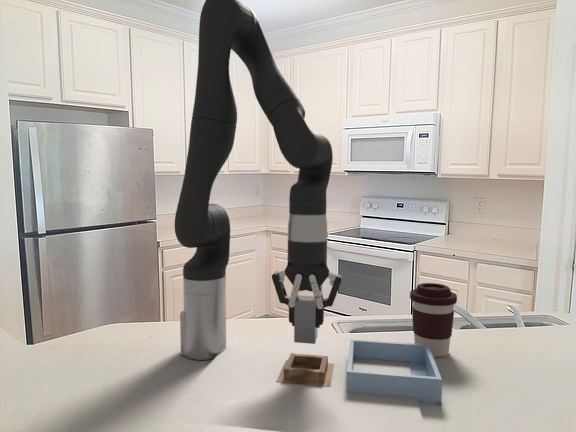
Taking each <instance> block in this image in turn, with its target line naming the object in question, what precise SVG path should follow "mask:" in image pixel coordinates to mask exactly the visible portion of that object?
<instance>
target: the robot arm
mask: <svg viewBox="0 0 576 432" xmlns="http://www.w3.org/2000/svg"><path fill="white" fill-rule="evenodd" d="M201 8H202V9H201V12H200V16H199V25H198V26H199V28H198V53H197V55H198V57H197V58H198V59H197V63H198V64H197V71H196V72H197V74H196V83H195V84H196V85H195V94H194V103H193V108H192V115H191V120H190V121H191V123H190V132H189V142H188V150H187V157H186V162H185V163H186V164H185V170H184V176H183V181H182V185H181V189H180V194H179V199H178V202H177V207H176V211H175V215H174V216H175V217H174V234H175V236H176V239H177V241H178V243H179V244H180V245H181V246H182V247H184V248H186V249H187V248H189V249H193V248H196V251H195V253H194V254H193V256H192V257H191V258H190V259H189V260H187V261H186V262H185V263H184V265H183V266H182V267H183V268H182V278H183V279H182V280H183V282H182V284H183V310H182V311H181V312H180V314H179V323H180V325H179V327H180V329H179V331H180V333H179V334H180V356H185V357H186V358H188V359H192V360H197V361H198V360H199V361H200V360H201V361H204V360H205V361H207V360H213V359H216V357H217V356H218V355H219V354H221V353H222V352H224V351H225V350H226V349H227V293H226V292H227V288H226V287H227V285H226V284H227V282H226V274H227V272H226V271H227V267H228V264H229V261H230V249H231V248H230V247H231V246H230V245H231V222H230V218H229V217H230V216H229V215H228V212H227V211H226V209H225V208H224V206H222V205H220V204H217V203H210V197H211V193H212V189H213V185H214V182H215V180H216V178H217V177H218V175H219V173H220V172H221V170H222V168H223V166H225V163H226V162H227V160H228V159H229V156H230V155H231V152H232V150H233V147H234V143H235V140H236V139H235V137H236V131H237V124H238V109H237V108H238V107H237V104H236V99H235V95H234V91H233V86H232V81H231V78H230V58H231V52H232V51H233V52H234V53H235V54H236V55H237V56H238V58H239V59H240V60H241V61H242V62H243V64H244V65H245V67H246V68H247V70H248V73H249V75H250V78H251V82H252V87H253V92H254V93H253V94H254V95H255V98H256V101H257V103H258V105H259V106H260V108H261V110H262V112H263V113H264V114H265V116H266V119H267V120H268V121H269V123H270V125H271V126H272V129H273V133H274V136H275V138H276V142H277V145H278V148H279V151H280V152H281V154H282V156H283V157H284V159H285V160H286V162H288V164H289V165H291V167H294V168H296V169H298V170H299V171H298V177H297V181H296V182H295V183H294V184H292V185H291V186H290V188H289V189H290V190H289V196H288V197H289V200H288V202H289V203H288V204H289V206H288V209H289V210H288V211H289V215H288V221H287V265H286V267H285V269H284V270H282V271H278V270H277V271H274V273H273V274H272V275H271V279H272V282H273V286H274V289H275V291H276V296H277V298H278V301H279V303H280V304H284V305H286V306H287V307H288V322H289V324H291V326H292V327H294V308H295V300H296V299H297V297H298V296H300V295H299V294H300V292H305V291H308V292H311V293H312V295H313V296H314V298H315V300H316V304H317V308H316V328H318V329H320V327H321V326H322V325H323V323H324V320H325V308H326V307H330V308H331V307H332V306H333V305H334V301H335V300H336V296H337V294H338V291H339V288H340V286H341V283H342V280H343V276H342V275H341V274H335V273H332V272H330V269H329V268H328V262H327V261H328V235H329V232H328V220H327V189H328V185H329V181H330V177H331V173H332V167H333V161H334V159H333V157H334V156H333V147H332V144H331V142H330V140H329V139H328V138H327V137H326V136H324V134H321V133H318V132H314V131H312V130H311V129H310V127H309V126H308V124H307V122H306V120H305V117H306V110H305V107H304V106H303V104H302V102H301V101H300V99H299V97H298V95H297V94H296V92H295V90H294V89H293V88H292V86H291V85H290V83H289V81H288V80H287V78H286V76H285V75H284V73H283V71H282V69H281V68H280V66H279V64H278V62H277V60H276V59H275V57H274V54H273V52H272V50H271V48H270V45H269V43H268V41H267V38H266V36H265V33H264V31H263V28H262V26H261V24H260V21H259V18H258V15H256V13H255V11H253V9H252V8H251V7H250V6H248V5H247V4H246V3H244V2H242V1H241V0H204V3H203V5H202V7H201ZM231 50H232V51H231ZM286 277H287V279H288V281H289V282H290V283H291V285H292V289H291V293H290V295H289V296H288V293H287V290H286V287H285V285H284V282H285V280H286ZM327 279H329V285H330V286H332V287H331V289H330V292H329V295H328V297H327V298H324V296H323V295H324V293H323V289H322V285H323V284H324V283H325V281H326V280H327Z"/></svg>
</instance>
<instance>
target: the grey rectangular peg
mask: <svg viewBox="0 0 576 432" xmlns="http://www.w3.org/2000/svg"><path fill="white" fill-rule="evenodd" d="M316 308H317V304H316V300H315V298H314V295H312V296H310V295H298V297H297V299H296V300H295V308H294V326H293V328H294V329H293V336H294V337H293V338H294V340H293V342H294V343H298V344H309V345H312V344H313V345H315V344H316V342H317V339H318V329H319V328H316Z"/></svg>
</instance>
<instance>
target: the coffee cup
mask: <svg viewBox="0 0 576 432" xmlns="http://www.w3.org/2000/svg"><path fill="white" fill-rule="evenodd" d="M457 295H458V294H456V293H455V292H453V291H451V288H450V287H449V286H448V285H446V284H441V283H433V282H424V283H423V282H422V283H419V284H417V285H416V288H414V289H411V290H410V292H409V299H410V300H411V301H412V307H411V311H412V312H411V314H412V316H411V317H412V331H413V338H414V339H413V340H414V344H427V345H428V346H429V348H430V351H431V353H432V356H433V358H441V357H442V358H443V357H446V356H448V354H449V352H450V344H451V337H452V334H453V327H454V326H453V325H454V315H455V311H454V305H456V304H457V302H458V296H457Z"/></svg>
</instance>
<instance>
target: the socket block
mask: <svg viewBox="0 0 576 432" xmlns="http://www.w3.org/2000/svg"><path fill="white" fill-rule="evenodd" d="M334 368H335V363H332V362H331V363H329V355H320V354H319V355H317V354H307V353H306V354H304V353H294V352H293V353H292V352H291V353H290V355H289V356H288V359H286V360H285V362H284V363H283V366H282V368H281V370H280V373H279V375H278V377H277V378H276V382H275V383H281V384H291V385H292V384H294V385H302V386H303V385H304V386H315V387H316V386H317V387H326V388H331V383H332V378H333V373H334Z"/></svg>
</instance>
